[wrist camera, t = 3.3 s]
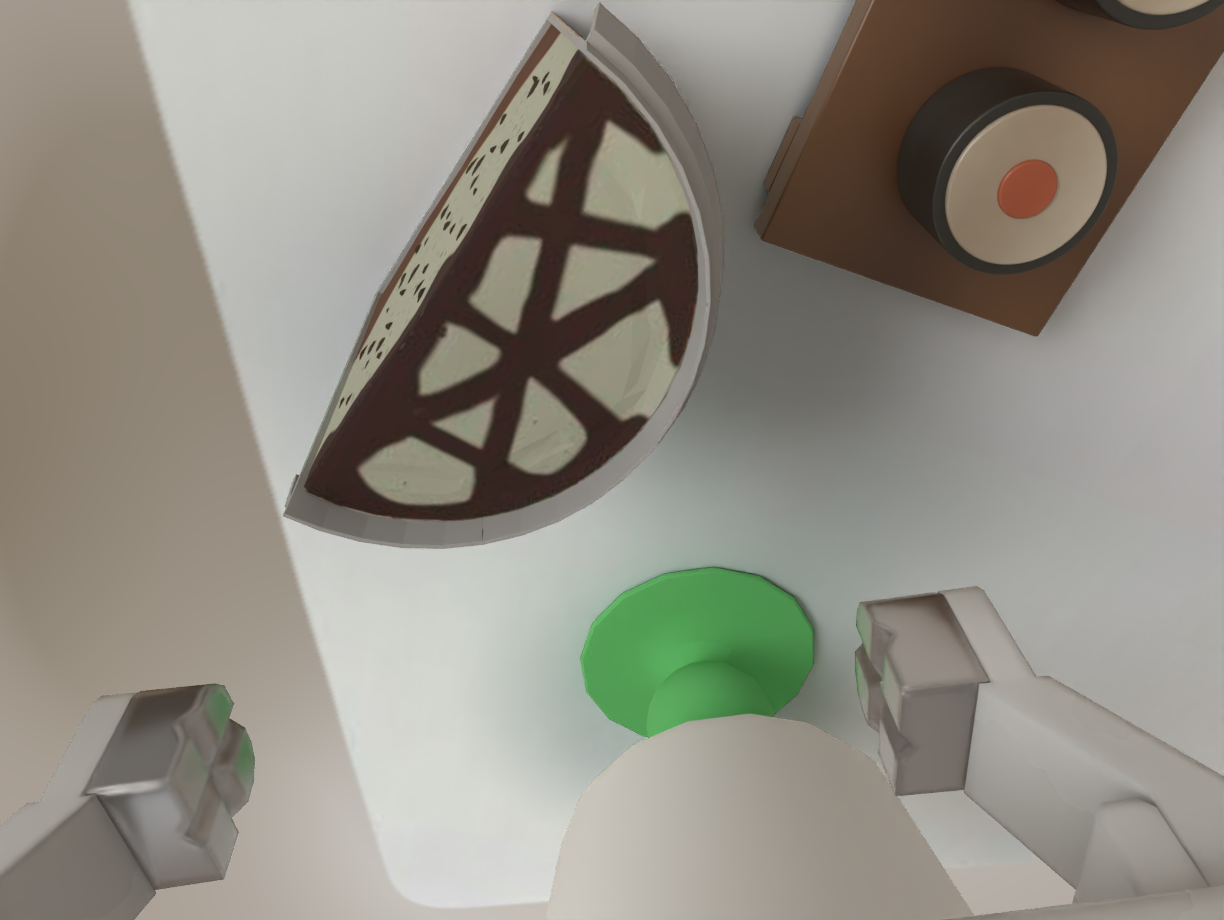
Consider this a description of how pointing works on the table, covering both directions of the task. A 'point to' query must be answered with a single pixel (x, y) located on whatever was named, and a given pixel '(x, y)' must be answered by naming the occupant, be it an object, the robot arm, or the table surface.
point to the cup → (731, 775)
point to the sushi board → (896, 77)
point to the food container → (531, 311)
